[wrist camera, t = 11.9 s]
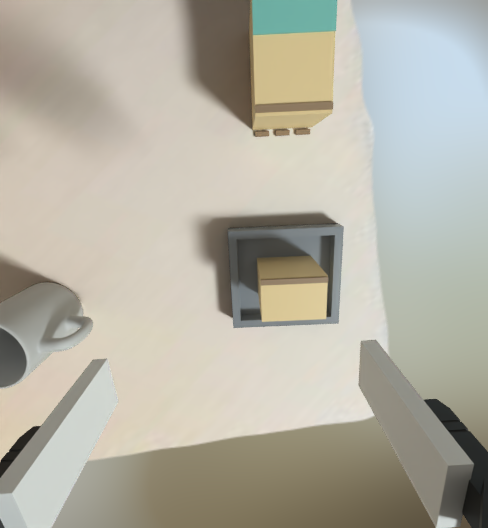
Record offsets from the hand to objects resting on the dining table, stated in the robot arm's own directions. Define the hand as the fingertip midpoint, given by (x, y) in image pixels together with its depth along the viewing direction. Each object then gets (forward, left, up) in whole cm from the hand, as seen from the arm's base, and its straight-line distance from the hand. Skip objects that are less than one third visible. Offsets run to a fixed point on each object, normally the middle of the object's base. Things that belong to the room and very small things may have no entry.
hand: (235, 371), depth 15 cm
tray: (+3, +6, -25) cm, 25 cm away
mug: (+7, -25, -25) cm, 36 cm away
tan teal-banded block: (-20, +6, -25) cm, 32 cm away
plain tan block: (+3, +6, -24) cm, 25 cm away
